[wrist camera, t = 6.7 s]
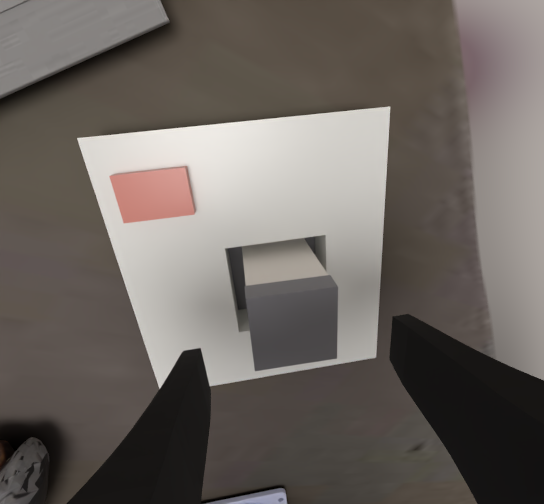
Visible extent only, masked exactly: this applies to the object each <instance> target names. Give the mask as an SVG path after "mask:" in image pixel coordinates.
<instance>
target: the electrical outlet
mask: <svg viewBox="0 0 544 504" xmlns="http://www.w3.org/2000/svg"><path fill="white" fill-rule="evenodd" d="M167 23H170V21H169V19H168V17H167V15H166V12H165V10H164V8H163V5H162V3H161V1H160V0H0V99H1V98H3V97H5V96H7V95H10V94H12V93H14V92H16V91H19V90H21V89H23V88H25V87H27V86H30V85H32V84H34V83H36V82H39V81H41V80H43V79H45V78H47V77H50V76H52V75H54V74H56V73H59V72H61V71H63V70H65V69H67V68H70V67H72V66H74V65H76V64H79V63H81V62H83V61H85V60H87V59H90V58H92V57H94V56H96V55H99V54H101V53H103V52H105V51H107V50H110V49H112V48H114V47H116V46H119V45H121V44H123V43H125V42H127V41H130V40H132V39H134V38H136V37H139V36H141V35H143V34H145V33H147V32H150V31H152V30H154V29H156V28H159V27H161V26H163V25H165V24H167Z"/></svg>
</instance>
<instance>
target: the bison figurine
mask: <svg viewBox="0 0 544 504" xmlns="http://www.w3.org/2000/svg"><path fill="white" fill-rule="evenodd" d="M49 463H50V462H49V454H48V452H47V450H46V447H45V446H44V445H43V444H42V442H41V440H39V439H37V438H34V437H31V438H29V439H27V440H26V441H25V442H24V443H23V444H22V445H21V446H20V447H19V448H18V449H17V450H16V452H15V451H14V449H13V448H12V446H11V445H10V443H9V442H7V441H0V504H45V500H46V496H47V490H48V473H49Z"/></svg>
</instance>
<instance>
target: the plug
mask: <svg viewBox="0 0 544 504" xmlns="http://www.w3.org/2000/svg"><path fill="white" fill-rule="evenodd" d="M242 254H243V264H244V274H245V284H246V286H245V297H246V305H247V313H248V321H249V329H250V337H251V345H252V353H253V360H254V368H255V371H261V370H267V369H273V368H280V367H286V366H293V365H299V364H306V363H312V362H318V361H325V360H331V359H337V330H338V286H337V284H336V283H335V281H334V280H333V278H332V277H331V275H328V274H327V272H326V271H325V269H324V268H323V266H322V265H321V263H320V262H319V260H318V259H317V257H316V256H315V254H314V253H313V251H312V250H311V248H310V247H309V245H308V244H307V242H306V241H305V239H304V238H299V239H292V240H284V241H277V242H270V243H262V244H255V245H247V246H242Z"/></svg>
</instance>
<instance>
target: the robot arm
mask: <svg viewBox="0 0 544 504" xmlns="http://www.w3.org/2000/svg"><path fill="white" fill-rule="evenodd" d="M390 361H391V363H392V365H393V367H394V369H395V371H396V373H397V375H398V377H399V379H400V380H401V382H402V384H403V386H404V387H405V389H406V390H407V392H408V393H409V395H410V396H411V398H412V399H413V400H414V402H415V403H416V405H417V406H418V408H419V409H420V411H421V412H422V414H423V415H424V417H425V418H426V419H427V421H428V422H429V424H430V425H431V427H432V428H433V430H434V431H435V432H436V434H437V435H438V437H439V438H440V440H441V441H442V443H443V444H444V446H445V447H446V449H447V451H448V452H449V454H450V455H451V457H452V459H453V460H454V462H455V464H456V466H457V467H458V469H459V471H460V473H461V474H462V476H463V478H464V480H465V481H466V483H467V485H468V487H469V489H470V490H471V492H472V494H473V496H474V498H475V500H476V502H477V503H478V504H544V381H543V380H541V379H539V378H536V377H534V376H531V375H529V374H527V373H524V372H522V371H519V370H517V369H515V368H512V367H510V366H508V365H506V364H504V363H501V362H499V361H497V360H495V359H493V358H491V357H489V356H487V355H485V354H483V353H481V352H479V351H477V350H475V349H473V348H471V347H469V346H467V345H465V344H463V343H461V342H459V341H457V340H456V339H454V338H452V337H450V336H448V335H446V334H444V333H443V332H441V331H439V330H437V329H435V328H433V327H432V326H430V325H428V324H426V323H424V322H423V321H421V320H419V319H417V318H415V317H413V316H411V315H409V314H406V315H400V316H394V317H393V320H392V333H391V346H390ZM210 413H211V390H210V385H209V381H208V377H207V373H206V368H205V364H204V360H203V356H202V351H201V348H197V349H191V350H185V351H183V352H182V353H181V355H180V356H179V358H178V360H177V362H176V363H175V365H174V367H173V368H172V370H171V372H170V373H169V375H168V377H167V378H166V380H165V381H164V383H163V385H162V386H161V388H160V389H159V391H158V392H157V394H156V395H155V397H154V398H153V400H152V402H151V403H150V404H149V406H148V407H147V409H146V410H145V411H144V413H143V414H142V416H141V417H140V418H139V420H138V421H137V423H136V424H135V425H134V427H133V428H132V429H131V431H130V432H129V433H128V435H127V436H126V437H125V438H124V440H123V441H122V442H121V443H120V445H119V446H118V447H117V448H116V450H115V451H114V452H113V453H112V454H111V456H110V457H109V458H108V459H107V460H106V462H105V463H104V464H103V465H102V466H101V467H100V468H99V469H98V470H97V472H96V473H95V474H94V475H93V476H92V477H91V478H90V479H89V480H88V482H87V483H86V484H85V485H84V486H83V487H82V488H81V489H80V490H79V491H78V492H77V493H76V495H75V496H74V497H73V498H72V499H71V500H70V501H69V502H68V503H67V504H201V495H202V486H203V477H204V469H205V461H206V453H207V444H208V436H209V427H210ZM204 504H287V498H286V491H285V489H283V488H277V489H273V490H268V491H263V492H258V493H253V494H248V495H243V496H238V497H233V498H229V499H224V500H219V501H214V502H209V503H204Z"/></svg>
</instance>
